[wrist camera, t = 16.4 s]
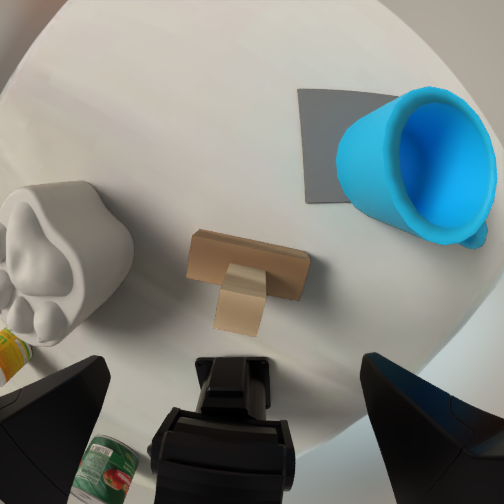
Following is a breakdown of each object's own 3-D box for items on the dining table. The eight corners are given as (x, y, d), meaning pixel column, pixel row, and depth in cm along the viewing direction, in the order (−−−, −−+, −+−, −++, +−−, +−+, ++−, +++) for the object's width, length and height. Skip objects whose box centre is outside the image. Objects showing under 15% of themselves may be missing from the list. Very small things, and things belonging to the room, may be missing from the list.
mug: (313, 170, 19) (347, 165, 11) (375, 94, 17) (430, 58, 9) (416, 269, 20) (473, 310, 12) (465, 198, 18) (531, 212, 11)
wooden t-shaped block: (293, 295, 22) (305, 345, 15) (193, 274, 21) (164, 316, 15) (305, 251, 21) (325, 285, 14) (200, 228, 20) (171, 253, 14)
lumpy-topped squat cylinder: (149, 254, 21) (92, 298, 13) (78, 332, 24) (31, 380, 15) (77, 164, 19) (3, 167, 11) (21, 258, 22) (-35, 285, 13)
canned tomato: (150, 464, 30) (131, 519, 19) (117, 464, 31) (97, 511, 20) (114, 432, 28) (85, 490, 17) (84, 434, 29) (56, 483, 18)
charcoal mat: (448, 202, 19) (450, 202, 19) (305, 202, 20) (306, 202, 19) (442, 106, 17) (443, 105, 17) (297, 89, 17) (297, 88, 17)
